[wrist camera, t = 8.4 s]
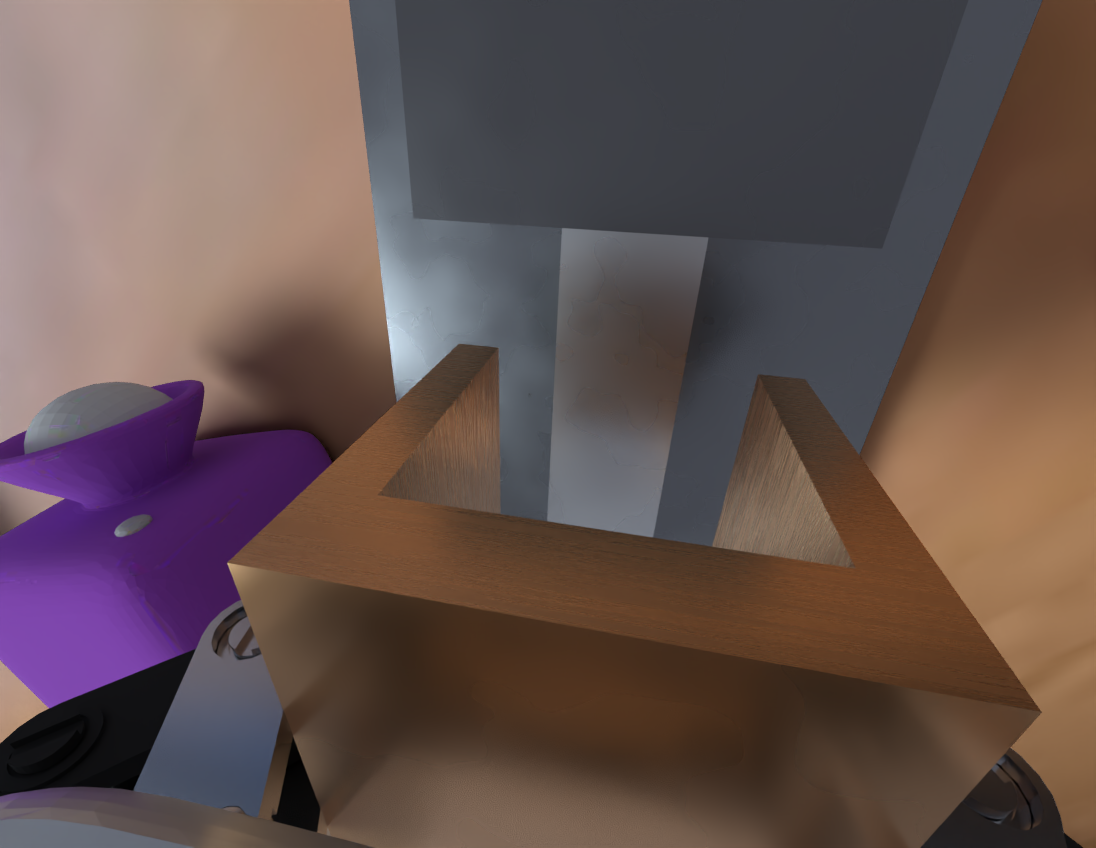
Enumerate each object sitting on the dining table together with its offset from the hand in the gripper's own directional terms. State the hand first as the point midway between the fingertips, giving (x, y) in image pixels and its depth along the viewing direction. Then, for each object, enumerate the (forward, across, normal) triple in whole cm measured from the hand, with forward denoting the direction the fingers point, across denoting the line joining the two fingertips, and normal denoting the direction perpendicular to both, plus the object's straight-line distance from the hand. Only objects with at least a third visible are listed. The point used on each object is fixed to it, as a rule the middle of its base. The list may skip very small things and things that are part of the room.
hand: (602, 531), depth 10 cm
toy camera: (+9, +16, +7) cm, 20 cm away
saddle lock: (+1, 0, 0) cm, 1 cm away
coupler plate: (+9, 0, 0) cm, 9 cm away
